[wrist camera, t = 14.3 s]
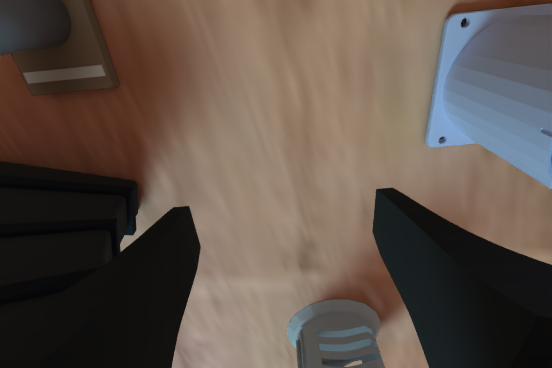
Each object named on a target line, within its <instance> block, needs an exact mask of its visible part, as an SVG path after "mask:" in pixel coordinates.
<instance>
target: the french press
mask: <svg viewBox="0 0 552 368" xmlns="http://www.w3.org/2000/svg"><path fill="white" fill-rule="evenodd" d="M380 326H381V322H380V320H379V317H378V314H377V312H375V311H374V310H373V309H372V308H370V307H369V306H368V305H366V304H364V303H361V302H357V301H354V300H350V299H328V300H325V301H321V302H318V303H314V304H311V305H309V306H307V307H305V308H304V309H302V310H301V311H299V312H298V313H296V314H295V315H294V317H293V318H292V320H291V321H290V323H289V324H288V330H287V337H288V339H289V340H290V342H291V343H292V345H293V346H294V347H295V348H296V349H297V362H298V368H385V367H384V364H383V361H382V357H381V354H380V351H379V348H378V345H377V342H376V337H377V336H378V333H379V329H380ZM358 360H362V363H363V364H360V365H355V366H351V367H344V366H346V365H348V364H350V363H352V362H354V361H358Z"/></svg>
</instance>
